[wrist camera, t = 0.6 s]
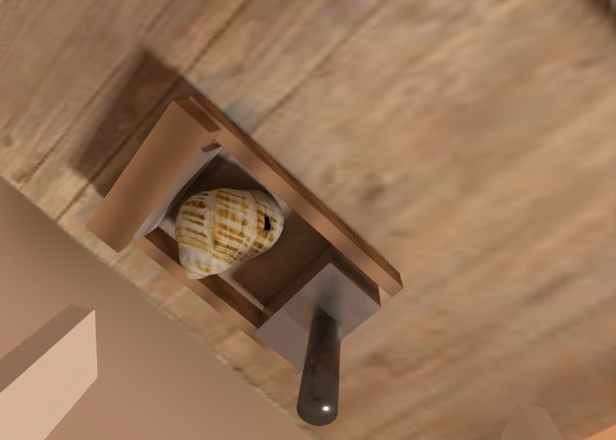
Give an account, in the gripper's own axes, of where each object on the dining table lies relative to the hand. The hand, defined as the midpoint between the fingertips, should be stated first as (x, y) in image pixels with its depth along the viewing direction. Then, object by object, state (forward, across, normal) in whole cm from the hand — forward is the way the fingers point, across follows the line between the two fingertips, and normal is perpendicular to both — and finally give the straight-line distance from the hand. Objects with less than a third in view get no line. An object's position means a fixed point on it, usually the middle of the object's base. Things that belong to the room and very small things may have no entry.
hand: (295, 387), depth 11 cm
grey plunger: (+27, +2, -14) cm, 31 cm away
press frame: (+28, -6, -9) cm, 30 cm away
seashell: (+28, -9, -7) cm, 30 cm away
